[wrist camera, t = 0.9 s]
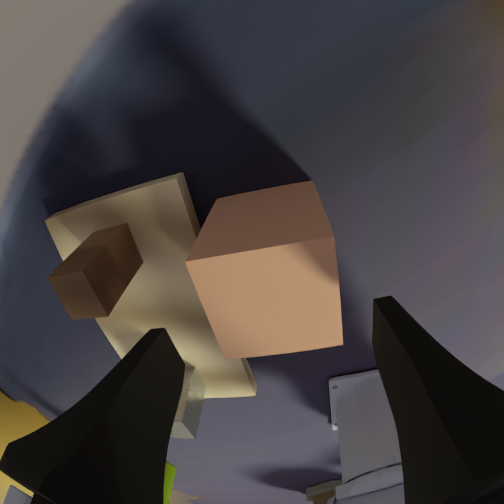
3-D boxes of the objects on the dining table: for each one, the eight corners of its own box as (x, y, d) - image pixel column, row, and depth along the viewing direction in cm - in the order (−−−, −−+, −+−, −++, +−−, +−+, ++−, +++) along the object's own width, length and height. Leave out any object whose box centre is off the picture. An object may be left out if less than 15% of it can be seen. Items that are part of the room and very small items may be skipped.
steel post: (206, 386, 23) (195, 438, 19) (177, 387, 23) (164, 436, 19) (195, 366, 22) (181, 421, 17) (165, 367, 22) (148, 419, 18)
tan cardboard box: (324, 264, 18) (342, 344, 12) (240, 277, 19) (225, 359, 13) (312, 180, 16) (333, 236, 10) (216, 198, 16) (185, 261, 11)
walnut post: (143, 262, 17) (108, 317, 13) (110, 268, 18) (71, 319, 13) (127, 223, 16) (82, 270, 12) (93, 231, 17) (47, 277, 12)
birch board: (256, 384, 24) (255, 395, 23) (153, 387, 26) (149, 397, 25) (183, 172, 16) (176, 178, 15) (54, 213, 18) (44, 220, 16)
